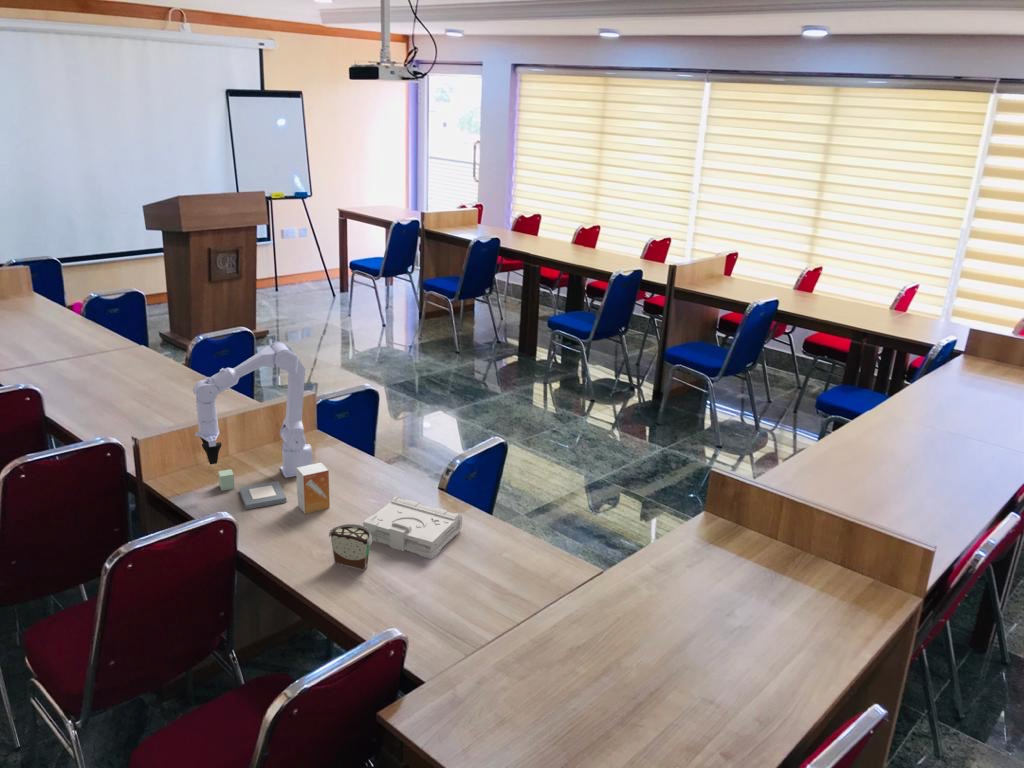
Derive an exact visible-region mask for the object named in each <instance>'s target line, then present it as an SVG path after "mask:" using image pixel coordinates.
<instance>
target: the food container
mask: <svg viewBox="0 0 1024 768" xmlns="http://www.w3.org/2000/svg"><path fill="white" fill-rule="evenodd" d="M329 537H330V543H331V547H332V554H333V561H334V564H335V563H337V564H336V565H339V564H341V566H343V565H344V566H343V567H349V568H353V569H356V570H360V571H366V570H367V569H368V567H369V566H368V565H369V564H368V563H369V553H370V546H371V545H372V543H373V541H372V537H371V534H370V532H369V530H368V529H367V528H366V527H364V525H360V524H355V523H353V524H352V523H347V524H341V525H337V526H335V527H333V528H331V529H330V530H329V534H328V538H329Z"/></svg>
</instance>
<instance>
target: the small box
mask: <svg viewBox="0 0 1024 768" xmlns="http://www.w3.org/2000/svg"><path fill="white" fill-rule="evenodd" d="M329 473H330V472H329V469H328V468H327V467H326V466H325V464H323V462H317V463H313V464H311V465H306V466H302V467H298V468H296V476H295V477H296V493H297V494H296V495H297V496H296V497H297V506H298V507H299V508H300V510H301V511H302V512H303V514H310V513H313V512H319V511H322V510H326V508H327V509H330V508H331V507H330V506H331V504H330V477H329V475H330V474H329Z"/></svg>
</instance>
